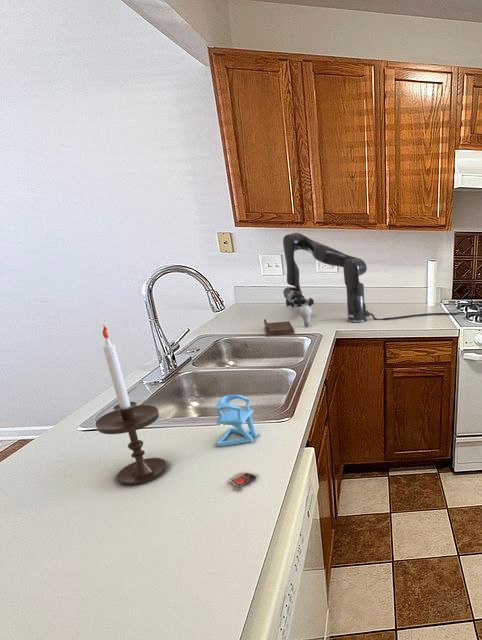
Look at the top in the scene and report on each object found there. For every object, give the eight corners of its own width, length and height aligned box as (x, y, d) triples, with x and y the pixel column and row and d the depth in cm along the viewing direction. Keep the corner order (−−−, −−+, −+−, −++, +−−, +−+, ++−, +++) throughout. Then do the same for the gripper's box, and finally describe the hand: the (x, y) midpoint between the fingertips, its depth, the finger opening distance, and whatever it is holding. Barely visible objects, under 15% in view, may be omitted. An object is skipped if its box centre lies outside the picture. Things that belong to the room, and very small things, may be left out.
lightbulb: (308, 328, 200) (306, 307, 196) (298, 327, 202) (296, 306, 199) (315, 325, 206) (314, 305, 202) (306, 324, 208) (304, 303, 204)
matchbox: (258, 476, 89) (257, 474, 89) (240, 490, 85) (240, 488, 85) (241, 471, 91) (241, 470, 91) (223, 485, 86) (223, 483, 86)
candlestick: (176, 474, 90) (141, 325, 77) (117, 495, 83) (67, 335, 70) (165, 453, 97) (131, 314, 85) (110, 471, 90) (64, 322, 78)
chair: (249, 447, 101) (242, 404, 96) (215, 446, 100) (207, 404, 96) (260, 431, 108) (255, 391, 104) (230, 430, 108) (223, 390, 103)
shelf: (289, 325, 204) (288, 317, 203) (294, 333, 192) (293, 324, 190) (264, 328, 199) (263, 319, 198) (267, 336, 187) (266, 327, 185)
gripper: (283, 292, 219) (287, 298, 206) (309, 291, 225) (315, 297, 212) (284, 306, 222) (288, 312, 208) (310, 304, 228) (316, 310, 214)
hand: (301, 305), depth 210 cm, fingers open, 8 cm apart
